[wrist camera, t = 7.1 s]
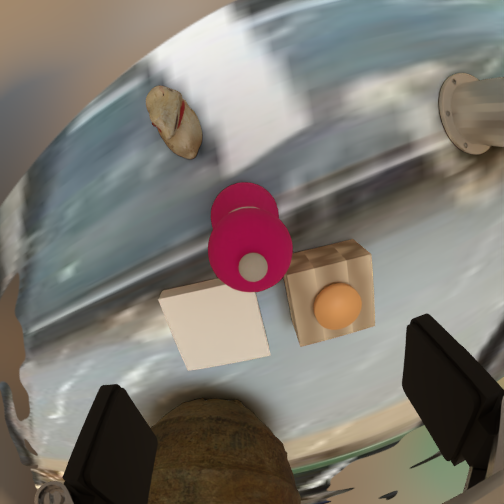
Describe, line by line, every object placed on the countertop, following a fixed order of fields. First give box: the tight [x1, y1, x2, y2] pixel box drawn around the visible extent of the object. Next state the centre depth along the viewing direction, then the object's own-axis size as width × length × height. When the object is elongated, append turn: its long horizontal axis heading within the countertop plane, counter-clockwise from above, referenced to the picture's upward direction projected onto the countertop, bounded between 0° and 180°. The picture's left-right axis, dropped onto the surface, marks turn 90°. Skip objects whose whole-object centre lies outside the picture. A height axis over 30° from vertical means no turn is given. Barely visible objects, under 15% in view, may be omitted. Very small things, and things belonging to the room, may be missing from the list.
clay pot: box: [148, 398, 301, 504], centre depth 37 cm, size 25×25×25 cm
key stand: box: [284, 239, 375, 347], centre depth 38 cm, size 10×10×6 cm
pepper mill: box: [208, 182, 293, 292], centre depth 28 cm, size 7×7×20 cm
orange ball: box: [313, 283, 362, 330], centre depth 37 cm, size 6×6×7 cm
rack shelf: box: [158, 278, 270, 371], centre depth 40 cm, size 12×12×2 cm
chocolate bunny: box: [146, 85, 202, 159], centre depth 29 cm, size 6×8×10 cm
